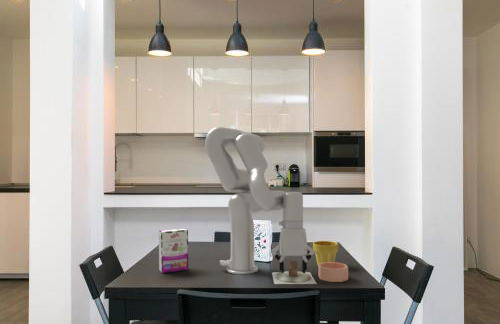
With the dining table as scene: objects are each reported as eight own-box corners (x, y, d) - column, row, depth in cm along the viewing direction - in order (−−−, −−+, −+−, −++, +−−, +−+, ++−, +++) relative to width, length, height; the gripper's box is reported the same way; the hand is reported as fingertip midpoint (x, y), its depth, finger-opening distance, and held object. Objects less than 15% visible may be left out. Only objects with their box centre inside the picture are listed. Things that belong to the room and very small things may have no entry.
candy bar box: (184, 267, 163) (185, 228, 163) (188, 270, 158) (188, 229, 159) (158, 270, 158) (158, 230, 158) (161, 273, 153) (161, 231, 153)
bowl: (322, 283, 140) (322, 269, 140) (316, 275, 151) (316, 262, 151) (350, 282, 141) (350, 269, 141) (343, 275, 151) (343, 262, 151)
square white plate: (274, 285, 138) (274, 283, 138) (271, 273, 153) (271, 272, 153) (316, 285, 138) (316, 283, 138) (309, 273, 153) (309, 272, 153)
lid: (277, 283, 139) (277, 266, 139) (274, 273, 152) (274, 258, 152) (313, 282, 139) (313, 266, 139) (307, 273, 152) (307, 258, 152)
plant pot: (319, 270, 158) (319, 245, 158) (309, 264, 168) (309, 241, 168) (342, 268, 161) (342, 244, 161) (330, 262, 171) (330, 240, 171)
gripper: (270, 226, 142) (270, 275, 142) (317, 226, 142) (318, 275, 142) (269, 223, 149) (269, 269, 149) (314, 223, 150) (314, 269, 149)
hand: (293, 271), depth 145 cm, fingers open, 7 cm apart
